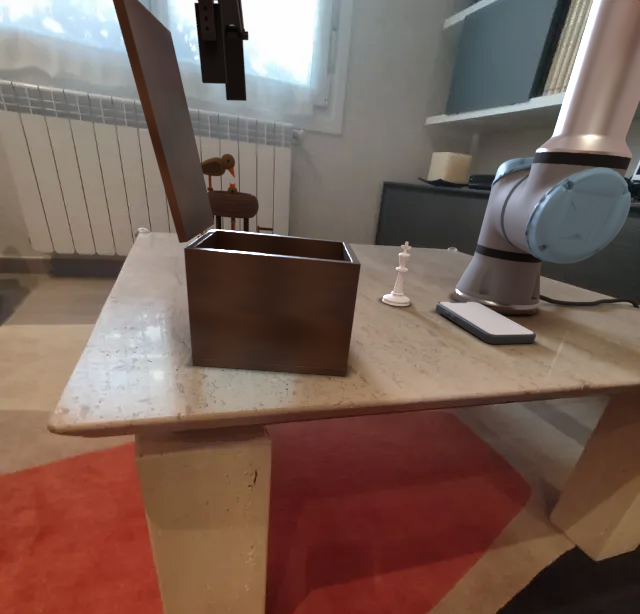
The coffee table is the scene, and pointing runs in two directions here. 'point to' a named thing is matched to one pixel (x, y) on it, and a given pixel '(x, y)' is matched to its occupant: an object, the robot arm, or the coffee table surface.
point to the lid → (166, 116)
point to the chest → (271, 302)
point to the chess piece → (399, 281)
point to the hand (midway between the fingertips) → (226, 93)
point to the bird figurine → (229, 196)
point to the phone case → (485, 323)
